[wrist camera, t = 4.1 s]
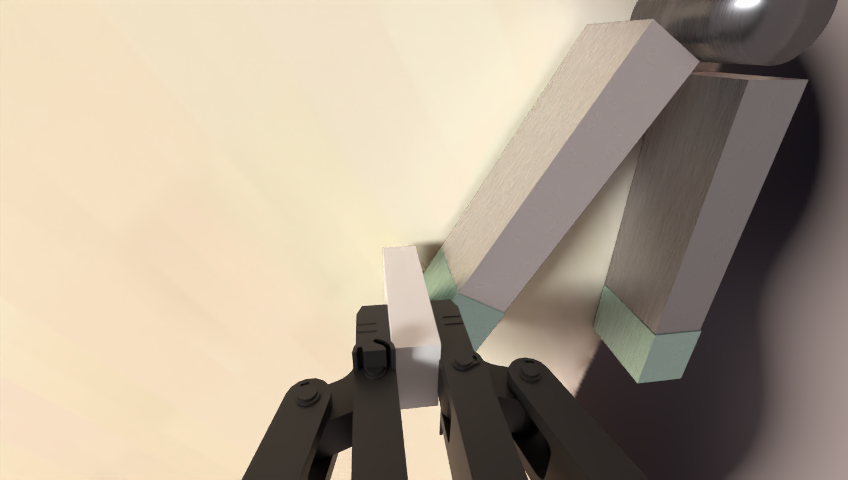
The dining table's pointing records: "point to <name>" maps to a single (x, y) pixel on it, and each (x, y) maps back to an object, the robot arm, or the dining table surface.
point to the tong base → (700, 174)
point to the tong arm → (556, 165)
